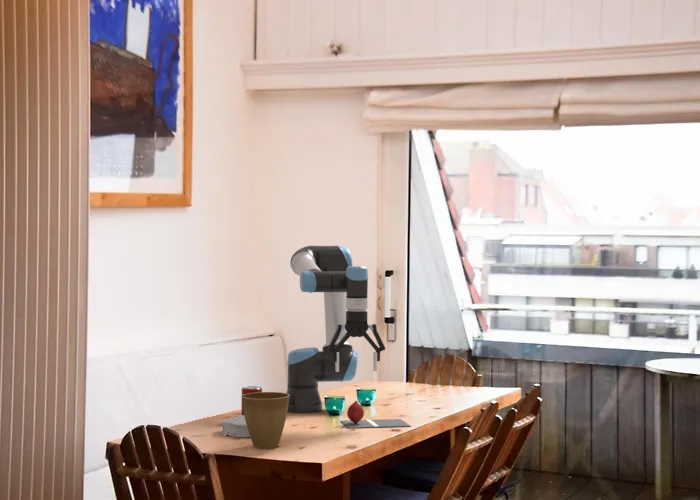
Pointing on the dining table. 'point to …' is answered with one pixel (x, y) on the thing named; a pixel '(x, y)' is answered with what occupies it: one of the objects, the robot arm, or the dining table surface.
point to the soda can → (249, 390)
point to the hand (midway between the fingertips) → (356, 371)
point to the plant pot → (265, 417)
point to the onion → (355, 412)
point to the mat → (375, 423)
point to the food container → (235, 427)
